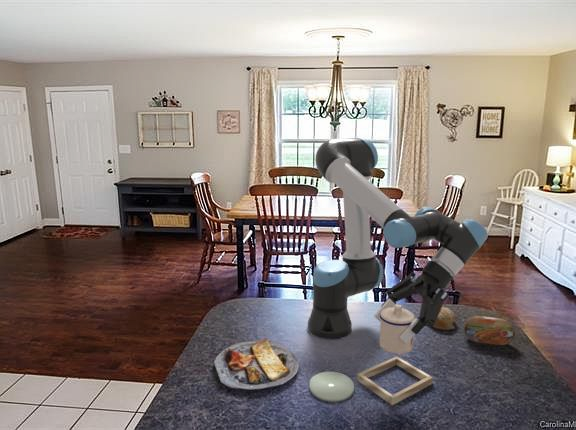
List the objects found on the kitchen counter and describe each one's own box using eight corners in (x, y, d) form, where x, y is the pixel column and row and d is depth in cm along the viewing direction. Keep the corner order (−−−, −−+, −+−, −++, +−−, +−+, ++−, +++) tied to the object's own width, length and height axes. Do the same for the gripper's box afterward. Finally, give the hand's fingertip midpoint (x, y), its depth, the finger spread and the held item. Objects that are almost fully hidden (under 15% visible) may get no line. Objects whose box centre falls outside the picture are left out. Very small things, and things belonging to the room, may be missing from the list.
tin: (463, 340, 143) (465, 316, 141) (462, 336, 146) (464, 312, 144) (513, 347, 139) (516, 323, 137) (511, 342, 142) (514, 318, 140)
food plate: (208, 352, 135) (208, 342, 134) (279, 340, 143) (279, 330, 142) (225, 404, 112) (225, 392, 112) (308, 386, 120) (309, 375, 119)
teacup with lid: (419, 353, 112) (422, 312, 110) (385, 356, 111) (387, 314, 109) (401, 331, 124) (404, 293, 121) (370, 333, 123) (372, 295, 120)
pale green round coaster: (300, 384, 120) (300, 381, 119) (334, 370, 126) (334, 366, 126) (328, 407, 110) (328, 404, 110) (363, 391, 117) (363, 387, 116)
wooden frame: (357, 380, 121) (357, 373, 121) (396, 362, 130) (396, 356, 130) (392, 405, 111) (392, 398, 111) (432, 383, 120) (432, 377, 119)
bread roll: (445, 341, 149) (457, 325, 146) (419, 323, 153) (430, 306, 150) (451, 329, 157) (463, 313, 154) (426, 312, 161) (437, 296, 158)
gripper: (481, 293, 108) (425, 360, 107) (422, 262, 130) (374, 317, 129) (466, 276, 105) (408, 344, 104) (408, 247, 127) (359, 303, 126)
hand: (389, 329), depth 116 cm, fingers closed on teacup with lid, 12 cm apart
